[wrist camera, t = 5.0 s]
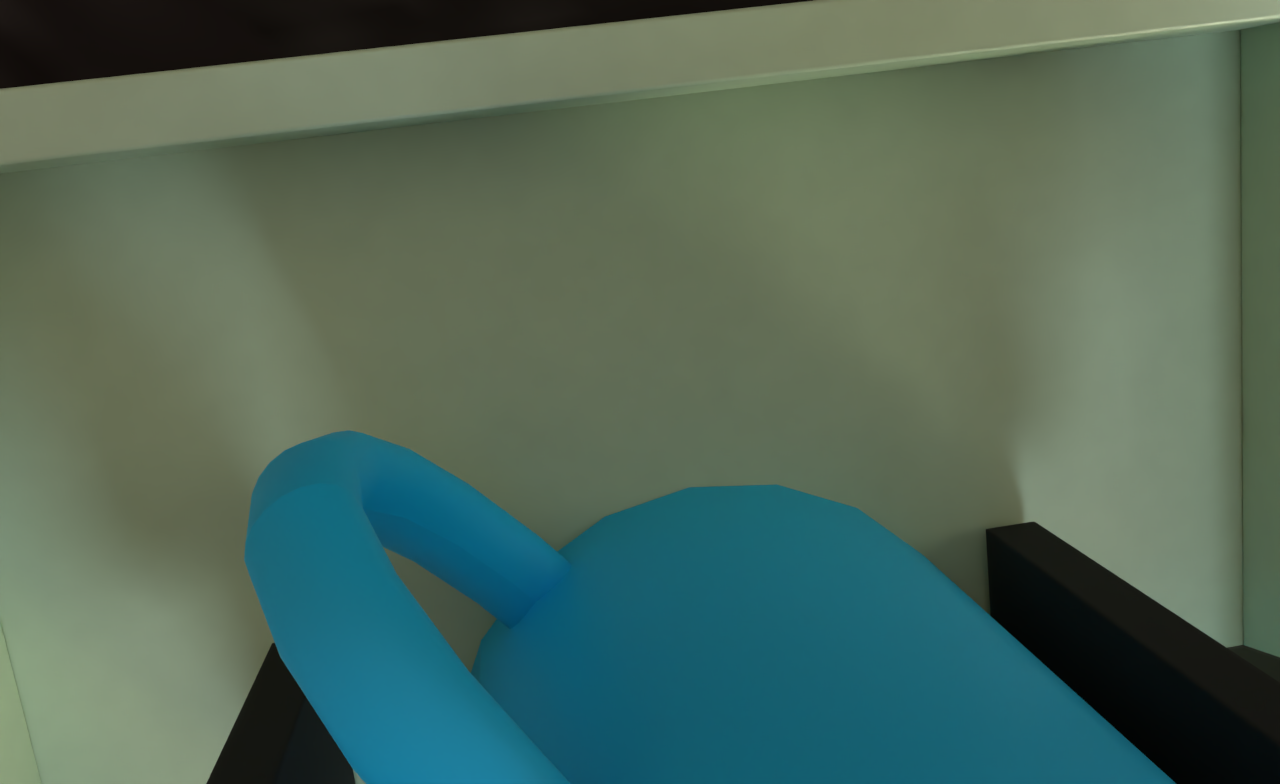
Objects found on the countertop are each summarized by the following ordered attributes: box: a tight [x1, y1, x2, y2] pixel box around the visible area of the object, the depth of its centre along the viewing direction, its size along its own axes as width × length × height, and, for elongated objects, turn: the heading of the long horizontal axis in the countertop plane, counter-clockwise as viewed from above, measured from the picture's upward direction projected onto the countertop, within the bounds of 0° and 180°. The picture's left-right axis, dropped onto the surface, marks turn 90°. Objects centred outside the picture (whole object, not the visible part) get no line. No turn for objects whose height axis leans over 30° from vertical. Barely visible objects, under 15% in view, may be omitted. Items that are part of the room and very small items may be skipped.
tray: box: [0, 0, 1280, 784], centre depth 16 cm, size 20×18×2 cm
